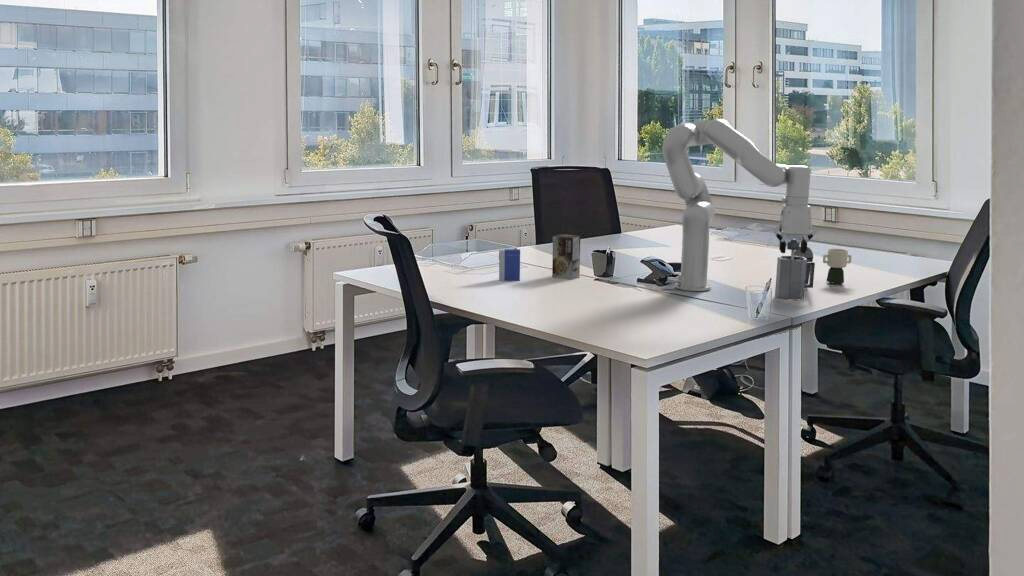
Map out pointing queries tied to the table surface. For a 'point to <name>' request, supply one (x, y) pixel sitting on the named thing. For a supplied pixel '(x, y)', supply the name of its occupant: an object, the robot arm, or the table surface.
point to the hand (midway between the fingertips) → (792, 252)
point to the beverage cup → (809, 257)
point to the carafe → (792, 277)
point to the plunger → (793, 247)
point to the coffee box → (566, 256)
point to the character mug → (836, 264)
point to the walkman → (509, 264)
